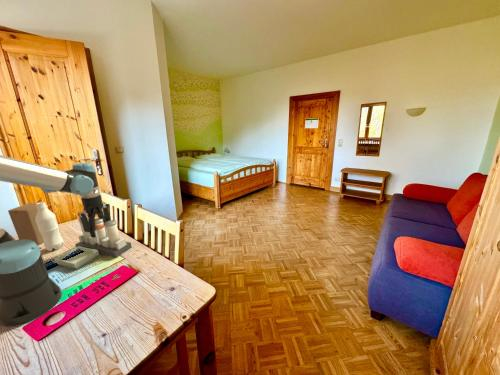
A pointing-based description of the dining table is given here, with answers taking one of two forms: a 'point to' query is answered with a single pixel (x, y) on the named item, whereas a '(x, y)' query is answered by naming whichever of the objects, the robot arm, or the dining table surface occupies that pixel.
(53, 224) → the water bottle
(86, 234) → the fuse far
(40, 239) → the wooden block
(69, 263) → the tray
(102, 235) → the marked fuse
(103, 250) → the block
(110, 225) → the cylinder
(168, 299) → the dining table surface
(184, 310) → the dining table surface
